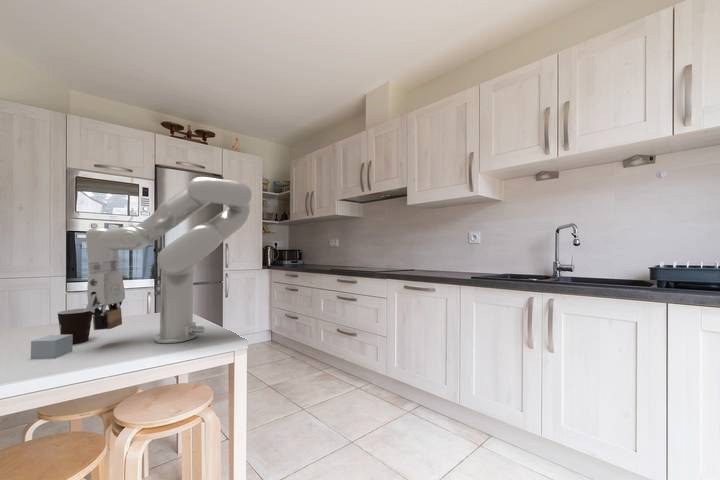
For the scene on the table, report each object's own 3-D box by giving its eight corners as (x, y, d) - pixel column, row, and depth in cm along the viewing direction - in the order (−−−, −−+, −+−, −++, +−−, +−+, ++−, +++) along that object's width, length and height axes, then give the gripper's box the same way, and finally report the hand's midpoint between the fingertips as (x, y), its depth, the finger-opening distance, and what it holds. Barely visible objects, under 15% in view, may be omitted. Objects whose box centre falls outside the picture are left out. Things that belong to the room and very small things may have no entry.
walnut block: (122, 324, 100) (121, 308, 100) (111, 328, 95) (110, 312, 95) (105, 325, 99) (104, 310, 99) (93, 330, 94) (92, 313, 94)
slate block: (72, 351, 92) (72, 334, 92) (54, 358, 86) (55, 340, 86) (50, 352, 91) (50, 335, 91) (30, 359, 85) (31, 341, 86)
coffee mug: (85, 344, 98) (86, 312, 98) (50, 347, 95) (51, 314, 95) (100, 334, 109) (101, 305, 109) (69, 337, 106) (70, 307, 106)
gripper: (96, 269, 89) (101, 333, 89) (134, 264, 106) (137, 318, 106) (68, 271, 88) (72, 335, 88) (110, 266, 105) (114, 319, 105)
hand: (108, 325), depth 97 cm, fingers closed on walnut block, 5 cm apart
